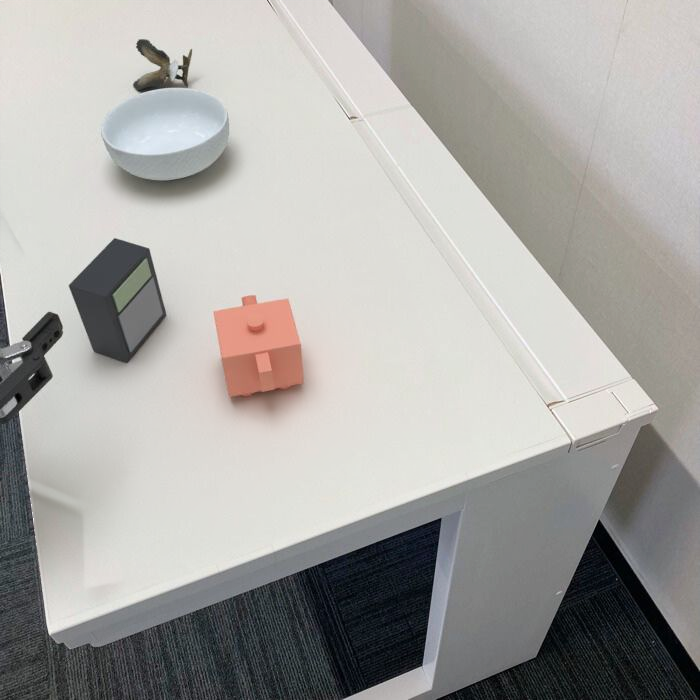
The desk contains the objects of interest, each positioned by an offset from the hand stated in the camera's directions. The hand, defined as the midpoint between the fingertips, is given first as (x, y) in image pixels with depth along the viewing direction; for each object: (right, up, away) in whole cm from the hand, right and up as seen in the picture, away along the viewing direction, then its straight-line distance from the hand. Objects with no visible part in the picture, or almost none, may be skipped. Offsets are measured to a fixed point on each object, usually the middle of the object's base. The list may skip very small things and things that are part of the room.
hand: (17, 305), depth 68 cm
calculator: (+5, -2, +19) cm, 19 cm away
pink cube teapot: (+20, -6, +15) cm, 26 cm away
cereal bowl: (+5, +22, +41) cm, 46 cm away
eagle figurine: (0, +38, +55) cm, 67 cm away
